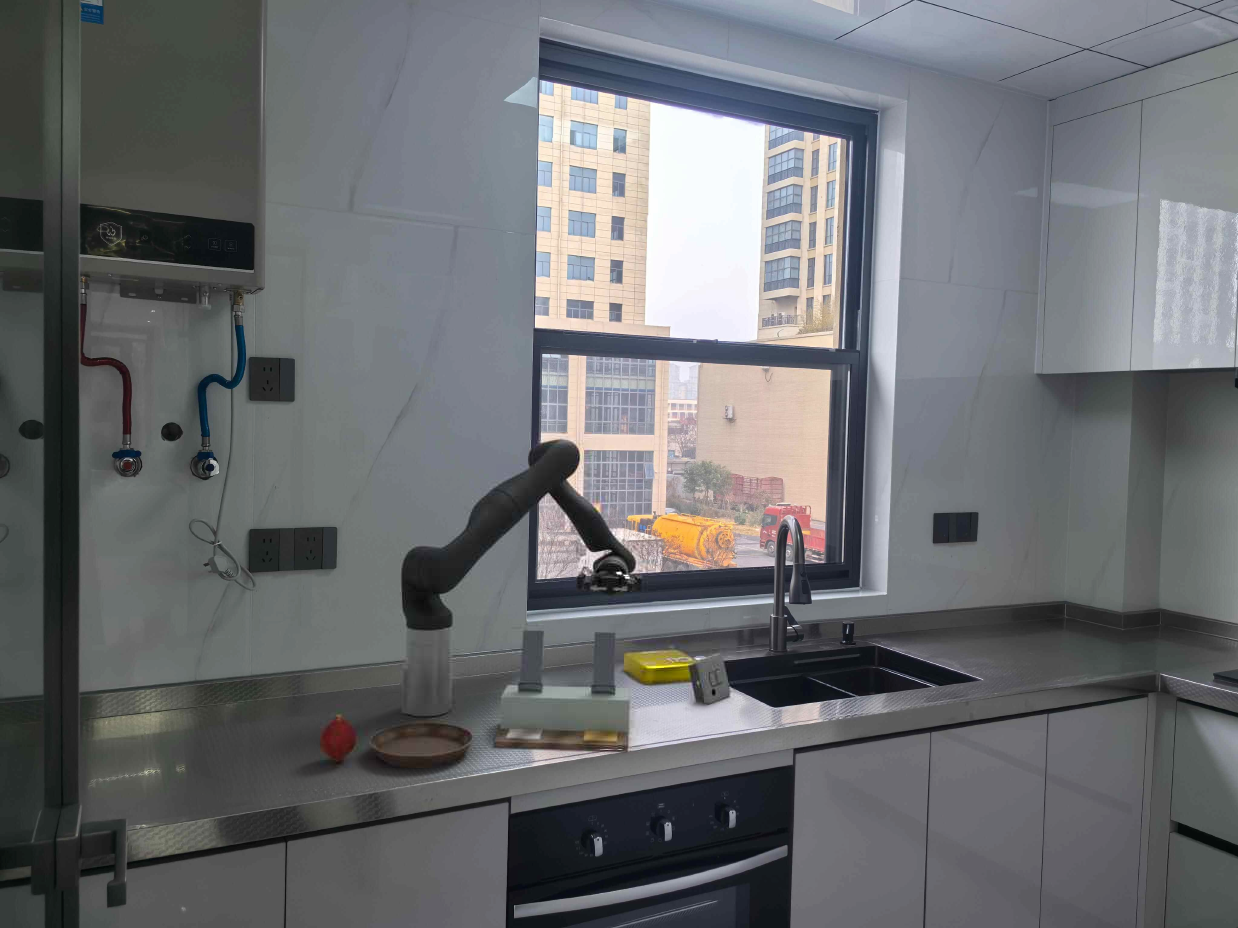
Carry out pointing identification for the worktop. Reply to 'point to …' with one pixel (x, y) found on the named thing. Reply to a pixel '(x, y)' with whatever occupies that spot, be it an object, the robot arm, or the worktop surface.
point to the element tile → (658, 666)
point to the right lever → (604, 663)
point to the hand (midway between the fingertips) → (608, 587)
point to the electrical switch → (709, 679)
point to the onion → (338, 738)
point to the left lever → (532, 661)
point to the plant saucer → (421, 744)
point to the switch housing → (565, 709)
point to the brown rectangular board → (561, 739)
